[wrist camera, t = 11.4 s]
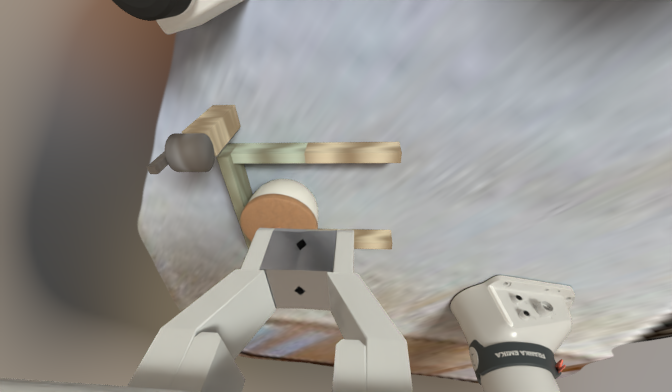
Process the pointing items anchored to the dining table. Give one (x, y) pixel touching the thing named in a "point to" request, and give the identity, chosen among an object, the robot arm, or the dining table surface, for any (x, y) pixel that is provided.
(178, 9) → the medicine bottle
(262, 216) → the lidded jar
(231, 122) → the winch post
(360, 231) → the bay
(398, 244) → the dining table surface
